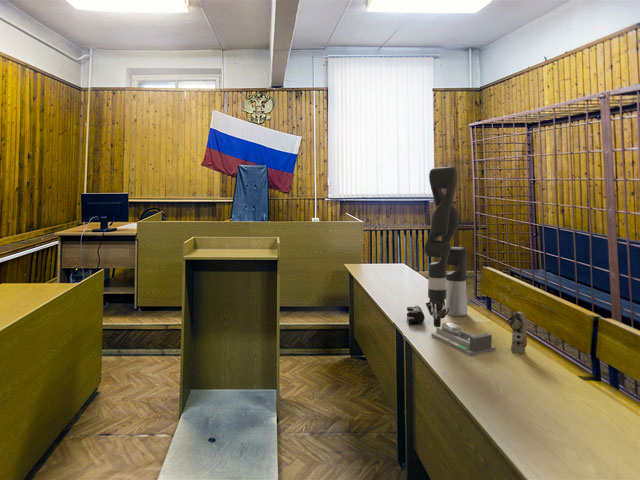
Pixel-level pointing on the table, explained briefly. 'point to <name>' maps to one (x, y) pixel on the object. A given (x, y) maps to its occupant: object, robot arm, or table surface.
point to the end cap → (415, 315)
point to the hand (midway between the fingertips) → (437, 326)
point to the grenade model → (518, 332)
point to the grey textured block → (452, 329)
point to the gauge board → (466, 342)
